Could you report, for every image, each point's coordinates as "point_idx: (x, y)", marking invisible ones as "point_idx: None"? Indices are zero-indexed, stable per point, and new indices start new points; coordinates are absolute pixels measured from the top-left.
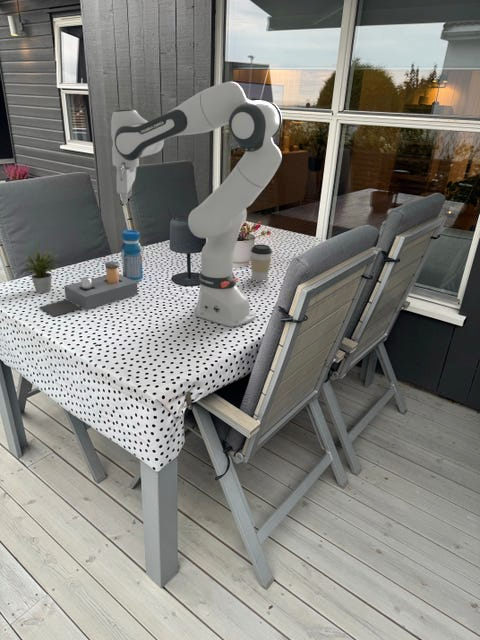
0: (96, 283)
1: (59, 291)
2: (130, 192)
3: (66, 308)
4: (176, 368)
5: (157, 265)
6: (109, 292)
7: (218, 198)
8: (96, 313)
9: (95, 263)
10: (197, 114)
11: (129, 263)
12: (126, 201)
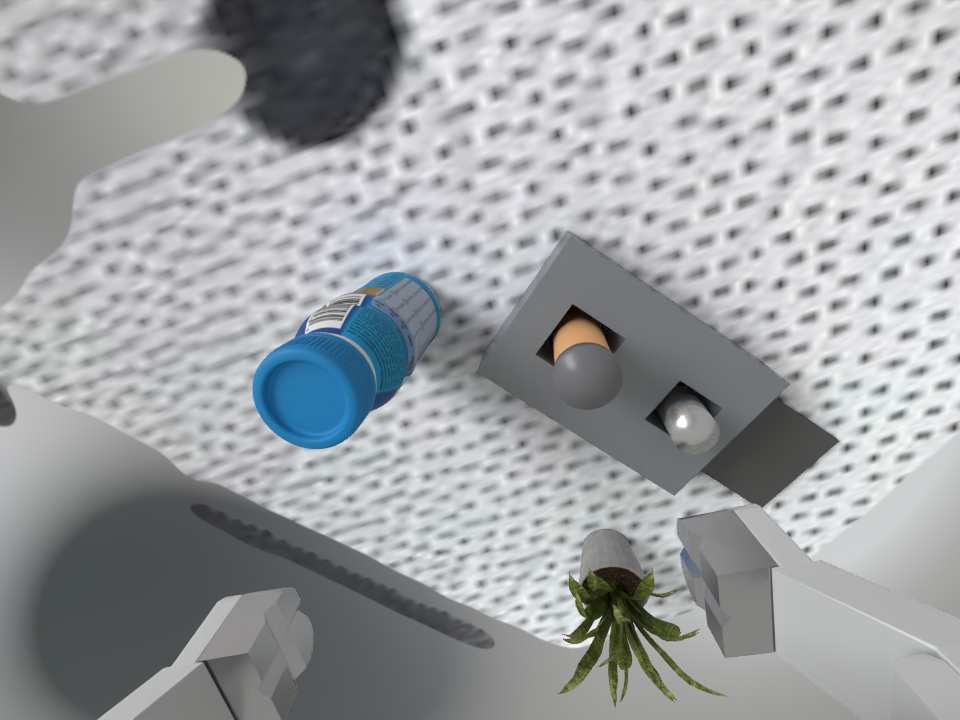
0: (625, 398)
1: (600, 504)
2: (257, 643)
3: (768, 428)
4: None
5: (206, 267)
6: (693, 318)
7: None
8: (793, 317)
9: (302, 494)
10: None
11: (420, 334)
12: (782, 538)
